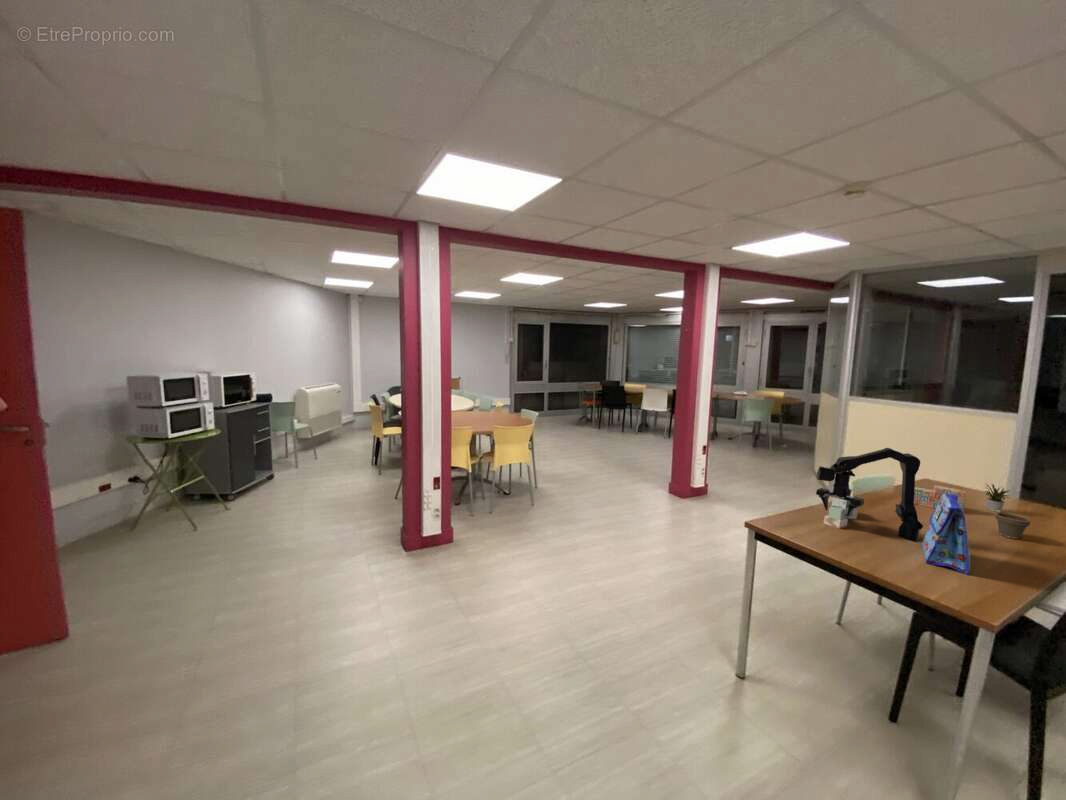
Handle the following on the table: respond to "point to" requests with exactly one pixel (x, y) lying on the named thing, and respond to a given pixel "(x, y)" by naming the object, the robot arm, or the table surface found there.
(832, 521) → the birch slab
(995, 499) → the house plant
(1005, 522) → the flower pot
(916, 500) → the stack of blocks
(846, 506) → the light bulb box
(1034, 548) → the table surface
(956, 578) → the table surface
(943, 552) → the lunch bag
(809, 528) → the table surface
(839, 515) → the sage block
